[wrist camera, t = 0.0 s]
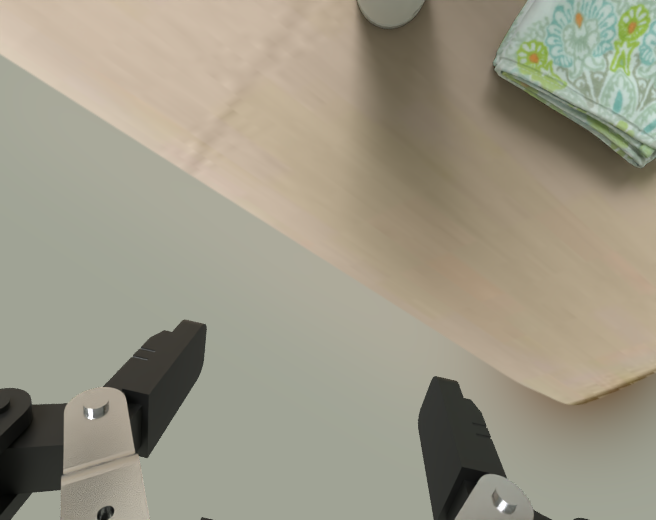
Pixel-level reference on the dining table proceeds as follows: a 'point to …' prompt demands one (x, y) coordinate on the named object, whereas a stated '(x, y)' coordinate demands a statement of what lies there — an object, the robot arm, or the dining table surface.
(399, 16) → the travel mug
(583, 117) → the towel
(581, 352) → the dining table surface
